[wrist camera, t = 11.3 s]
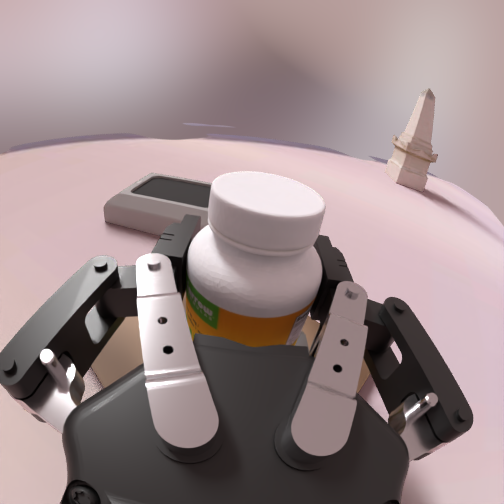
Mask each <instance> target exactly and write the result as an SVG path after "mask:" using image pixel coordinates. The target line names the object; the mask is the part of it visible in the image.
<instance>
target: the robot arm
mask: <svg viewBox="0 0 504 504" xmlns="http://www.w3.org/2000/svg"><path fill="white" fill-rule="evenodd" d="M200 228H201V216H196V215H189V214H185V216H184V218H183V220H182V221H181V223H172V224H171V225H169V226H167V227H166V229H165V230H164V232H163V234H162V235H161V237H160V239H159V240H158V242H157V244H156V245H155V247H154V249H153V251H152V252H151V254H146V255H144V256H142V257H141V258H139V259H138V261H137V263H136V265H133V266H117V261H116V260H115V259H114V258H113V257H111V256H106V255H102V256H97V257H94V258H92V259H90V260H89V261H88V262H87V263H86V264H85V265H83V266H82V267H81V268H80V269H79V270H78V271H77V272H76V273H75V274H74V275H73V276H72V277H71V278H70V279H68V280H67V281H66V282H65V283H64V284H63V285H62V286H61V287H60V288H59V289H58V290H57V291H56V292H55V293H54V294H53V295H52V296H51V297H50V298H49V299H48V300H47V301H46V302H45V303H44V304H43V305H42V306H41V307H40V308H39V310H38V311H37V312H36V313H35V314H34V315H33V316H32V317H31V318H30V319H29V320H28V321H27V322H26V324H25V325H24V326H23V327H22V328H21V329H20V330H19V331H18V333H17V334H16V335H15V336H14V337H13V338H12V340H11V341H10V342H9V343H8V344H7V345H6V347H5V348H4V349H3V350H2V352H1V353H0V384H1V385H2V386H3V387H4V388H5V389H6V390H7V391H8V393H9V394H10V396H11V397H12V398H13V399H14V400H15V401H16V402H17V403H18V404H20V405H21V406H22V407H23V408H24V409H25V410H26V411H27V412H29V413H30V414H32V415H33V416H34V417H35V418H36V419H37V420H39V421H41V422H44V423H48V424H49V425H50V426H52V427H53V428H54V429H56V430H57V431H58V432H60V433H61V434H62V442H63V447H64V451H65V456H66V462H67V471H68V480H67V487H66V490H65V493H64V495H63V497H62V500H61V502H60V504H401V494H402V489H403V484H404V481H405V478H406V475H407V472H408V468H409V462H410V461H412V460H420V459H422V458H424V457H426V456H427V455H429V454H431V453H433V452H435V451H436V450H438V449H440V448H442V447H443V446H445V445H447V444H448V443H450V442H451V441H453V440H455V439H456V438H458V437H459V436H461V435H462V434H464V433H465V432H467V431H468V430H469V429H470V428H471V426H472V424H473V413H472V410H471V408H470V406H469V404H468V402H467V400H466V398H465V397H464V395H463V393H462V391H461V389H460V387H459V385H458V384H457V382H456V380H455V378H454V377H453V375H452V373H451V371H450V370H449V368H448V366H447V365H446V363H445V361H444V360H443V358H442V356H441V355H440V353H439V351H438V350H437V348H436V347H435V345H434V343H433V342H432V340H431V339H430V337H429V336H428V334H427V332H426V331H425V329H424V328H423V326H422V325H421V323H420V322H419V320H418V319H417V317H416V316H415V315H414V313H413V312H412V310H411V309H410V307H409V306H408V305H407V304H406V303H405V302H404V301H402V300H401V299H398V298H395V297H389V298H387V299H386V300H385V301H384V303H383V304H380V303H377V302H375V301H372V300H369V299H367V298H368V296H367V293H366V291H365V290H364V289H363V288H362V287H361V286H360V285H358V284H356V283H354V281H353V279H352V276H351V274H350V271H349V269H348V267H347V264H346V262H345V259H344V256H343V254H342V253H341V252H340V251H339V250H338V249H337V248H336V247H332V245H331V242H330V240H329V237H328V236H323V235H318V238H317V239H316V241H315V243H314V245H313V247H314V248H315V249H316V251H317V253H318V255H319V257H320V260H321V264H322V280H321V284H320V287H319V290H318V293H317V295H316V298H315V300H314V303H313V305H312V307H311V309H310V315H311V320H320V325H319V327H318V329H317V332H316V334H315V337H314V340H313V342H312V345H311V347H310V350H309V352H308V347H307V346H294V345H283V344H280V345H271V346H262V347H250V346H247V345H244V344H241V343H238V342H235V341H232V340H229V339H226V338H224V337H217V336H211V335H205V334H198V333H195V336H194V340H193V341H192V337H191V334H190V330H189V326H188V323H187V319H186V315H185V311H184V307H183V303H182V301H183V298H184V295H185V292H186V262H187V253H188V249H189V247H190V244H191V242H192V240H193V239H194V237H195V236H196V235H197V234H198V232H199V231H200ZM94 305H95V306H94ZM93 306H94V307H93ZM92 307H93V308H92ZM91 308H92V309H91ZM90 309H91V311H90ZM89 311H90V312H89ZM88 312H89V313H88ZM87 313H88V314H87ZM135 316H138V319H139V329H140V339H141V347H142V355H143V362H144V363H142V364H141V365H139V366H138V367H136V368H135V369H133V370H132V371H130V372H129V373H127V374H126V375H124V376H122V377H121V378H119V379H118V380H116V381H115V382H113V383H112V384H110V385H109V386H107V387H106V388H104V389H103V390H101V391H99V392H98V393H96V394H95V395H93V396H92V397H90V398H88V399H87V400H85V401H84V402H82V403H81V400H82V396H83V393H84V390H85V384H84V380H83V377H84V375H85V374H86V372H87V371H88V369H89V368H90V366H91V365H92V364H93V362H94V361H95V359H96V358H97V356H98V355H99V354H100V352H101V351H102V349H103V348H104V347H105V345H106V344H107V342H108V341H109V340H110V338H111V337H112V336H113V334H114V333H115V332H116V330H117V329H118V328H119V326H120V325H121V324H122V322H123V321H124V319H125V318H126V317H135ZM394 341H395V342H396V344H397V346H398V348H399V349H400V351H401V353H402V362H401V364H399V362H398V360H397V358H396V356H395V354H394V353H393V351H392V349H391V347H390V346H391V344H392V343H393V342H394ZM363 359H364V361H365V363H366V365H367V367H368V369H369V371H370V373H371V376H372V378H373V380H374V382H375V384H376V387H377V389H378V391H379V393H380V395H381V398H382V400H383V402H384V404H385V407H386V409H387V411H388V414H389V418H388V423H387V422H386V421H385V420H384V419H383V418H382V417H381V416H380V415H379V414H378V413H377V412H376V411H375V410H374V409H373V408H372V407H371V406H370V405H369V404H368V403H367V402H366V401H365V400H364V399H363V398H362V397H361V396H360V395H359V394H358V393H357V392H356V390H357V386H358V381H359V376H360V372H361V367H362V361H363Z"/></svg>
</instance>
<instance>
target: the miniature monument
mask: <svg viewBox="0 0 504 504" xmlns="http://www.w3.org/2000/svg"><path fill="white" fill-rule="evenodd" d="M434 106H435V97H434V95H433V93H432V91H431V90H430V89H427V90H425V91H423V92H421V94H420V97H419V99H418V102H417V104H416V106H415V109H414V111H413V114H412V116H411V118H410V120H409V123H408V125H407V127H406V130H405V132H403V133H402V134H401V136H399V139H397V137H396V136H395V135H394V136H393V139H392V143H393V144H394V145H395V149H394V152H393V155H392V158H391V159H389V160H388V163H387V166H386V170H385V173H386V174H387V175H388V176H389V177H390V178H391V179H392V180H394V181H395V182H396V183H398V184H401V185H404V186H407V187H410V188H413V189H415V190H418V191H421V192H423V190H424V188H425V185H426V182H427V179H428V178H427V176H426V174H427V171H428V168H429V165H430V162H436V159H437V156H438V154H433V155H432V152H433V151H432V145H431V137H432V128H433V118H434Z"/></svg>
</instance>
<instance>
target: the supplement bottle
mask: <svg viewBox="0 0 504 504" xmlns="http://www.w3.org/2000/svg"><path fill="white" fill-rule="evenodd" d="M325 208H326V206H325V202H324V200H323V198H322V197H321V196H320V195H319V194H318V193H317V192H316V191H314V190H313V189H312V188H310V187H308V186H306V185H304V184H302V183H300V182H298V181H295V180H292V179H290V178H286V177H283V176H279V175H275V174H270V173H263V172H254V171H241V172H231V173H227V174H223V175H221V176H219V177H217V178H216V179H215V180H214V181H213V183H212V185H211V190H210V198H209V206H208V224H209V225H207V226H206V227H204V228H203V229H202V230H201V231H199V232H198V234H197V235H196V236H195V237H194V239H193V240H192V242H191V244H190V247H189V249H188V253H187V262H186V319H187V323H188V326H189V330H190V334H191V337H192V341H193V340H194V336H195V333H198V334H205V335H211V336H217V337H224V338H226V339H229V340H232V341H235V342H238V343H241V344H244V345H247V346H250V347H262V346H271V345H280V344H283V345H294V346H295V344H296V342H297V339H298V337H299V335H300V333H301V331H302V328H303V326H304V324H305V321H306V319H307V316H308V314H309V312H310V309H311V307H312V305H313V303H314V300H315V298H316V295H317V293H318V290H319V287H320V284H321V280H322V264H321V260H320V257H319V255H318V253H317V251H316V249H315V248H314V247H313V245H314V243H315V241H316V239H317V238H318V235H319V232H320V227H321V224H322V220H323V216H324V213H325Z"/></svg>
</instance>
